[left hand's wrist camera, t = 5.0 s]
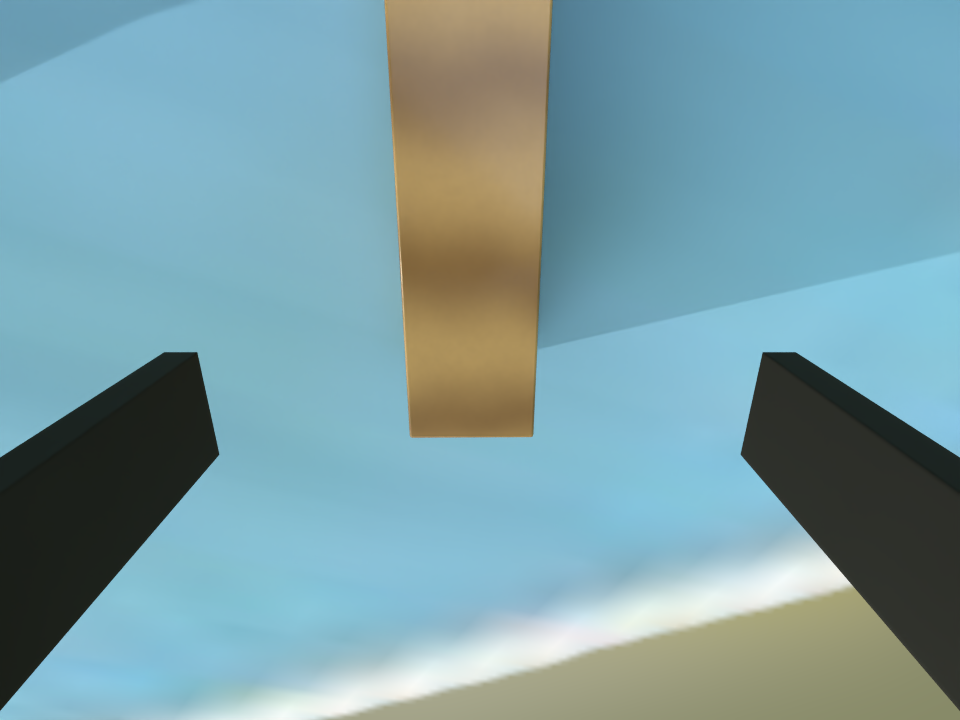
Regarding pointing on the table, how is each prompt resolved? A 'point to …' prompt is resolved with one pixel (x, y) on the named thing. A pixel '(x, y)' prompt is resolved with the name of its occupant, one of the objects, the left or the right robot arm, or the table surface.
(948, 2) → the table surface
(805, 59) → the table surface
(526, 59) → the bar
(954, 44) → the table surface
